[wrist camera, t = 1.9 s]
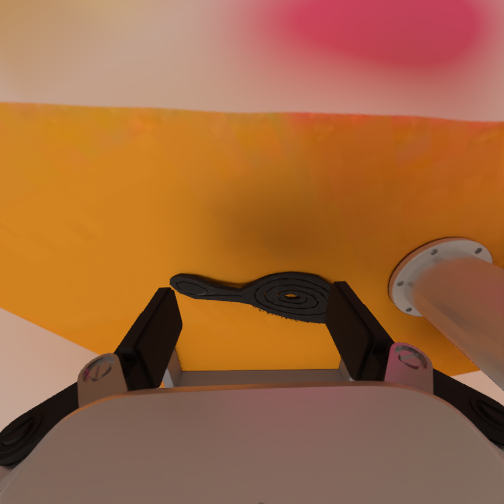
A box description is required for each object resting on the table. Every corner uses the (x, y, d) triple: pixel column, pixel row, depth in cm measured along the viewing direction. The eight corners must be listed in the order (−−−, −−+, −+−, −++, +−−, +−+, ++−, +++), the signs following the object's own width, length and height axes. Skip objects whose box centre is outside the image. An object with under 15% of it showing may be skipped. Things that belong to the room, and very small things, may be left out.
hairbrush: (161, 264, 24) (358, 294, 24) (173, 251, 27) (347, 277, 27) (164, 313, 27) (336, 339, 28) (175, 297, 31) (328, 320, 31)
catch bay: (360, 322, 31) (378, 350, 27) (345, 374, 37) (357, 403, 33) (159, 326, 32) (143, 353, 27) (175, 376, 38) (165, 405, 33)
